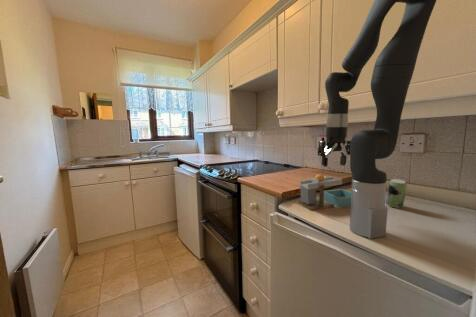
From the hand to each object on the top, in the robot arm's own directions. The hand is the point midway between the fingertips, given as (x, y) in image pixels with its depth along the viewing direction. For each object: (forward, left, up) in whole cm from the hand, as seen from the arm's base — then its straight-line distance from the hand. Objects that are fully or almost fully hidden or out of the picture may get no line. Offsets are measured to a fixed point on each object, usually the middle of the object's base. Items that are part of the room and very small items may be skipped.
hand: (333, 165), depth 82 cm
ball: (+7, +1, -7) cm, 10 cm away
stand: (+7, +3, -19) cm, 21 cm away
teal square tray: (+7, -11, -19) cm, 23 cm away
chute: (+10, 0, -17) cm, 19 cm away
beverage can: (-5, -28, -19) cm, 34 cm away
